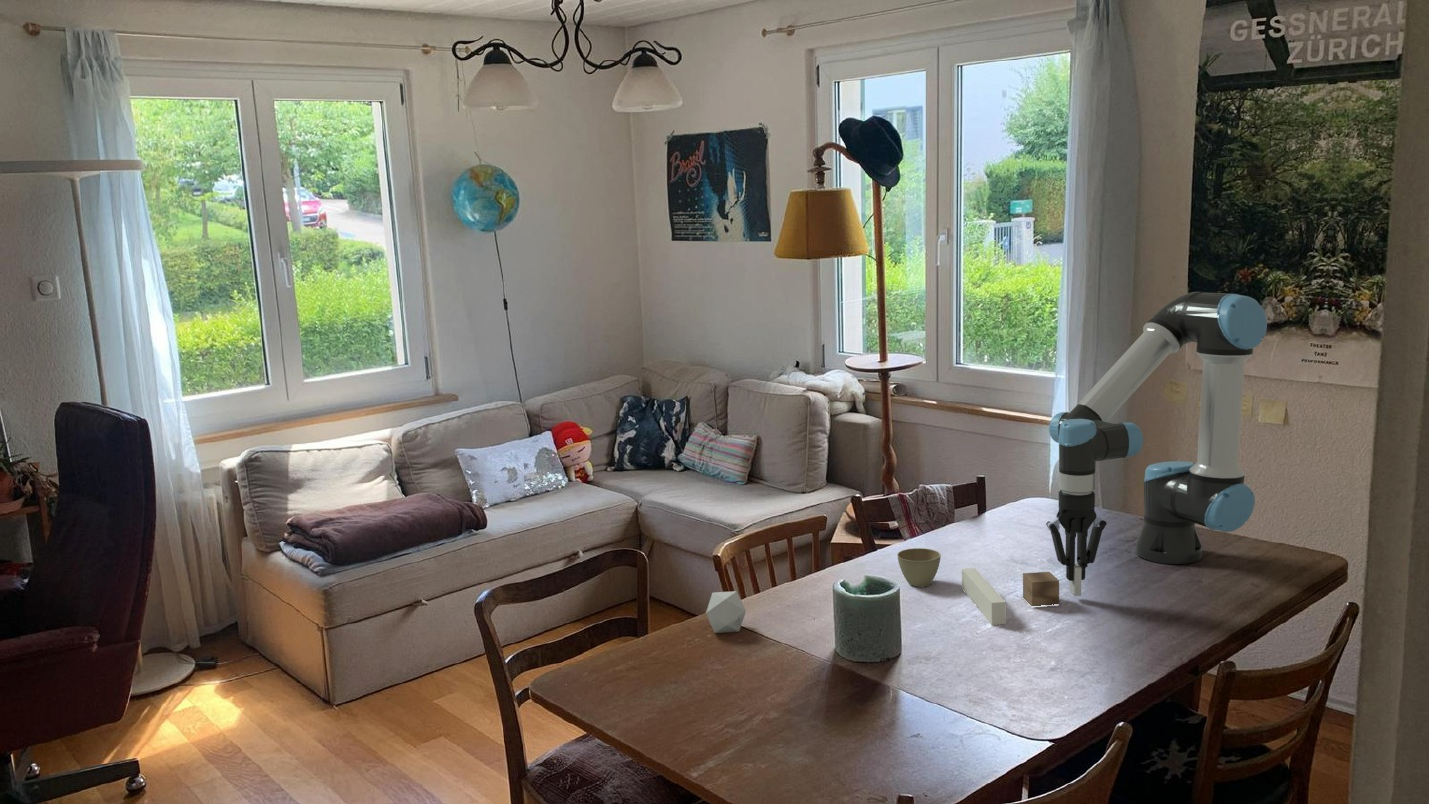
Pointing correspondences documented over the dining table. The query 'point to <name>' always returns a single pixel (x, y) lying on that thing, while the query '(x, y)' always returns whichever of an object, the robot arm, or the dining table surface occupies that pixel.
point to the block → (1040, 588)
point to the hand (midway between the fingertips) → (1075, 593)
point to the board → (984, 596)
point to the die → (725, 612)
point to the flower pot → (919, 565)
